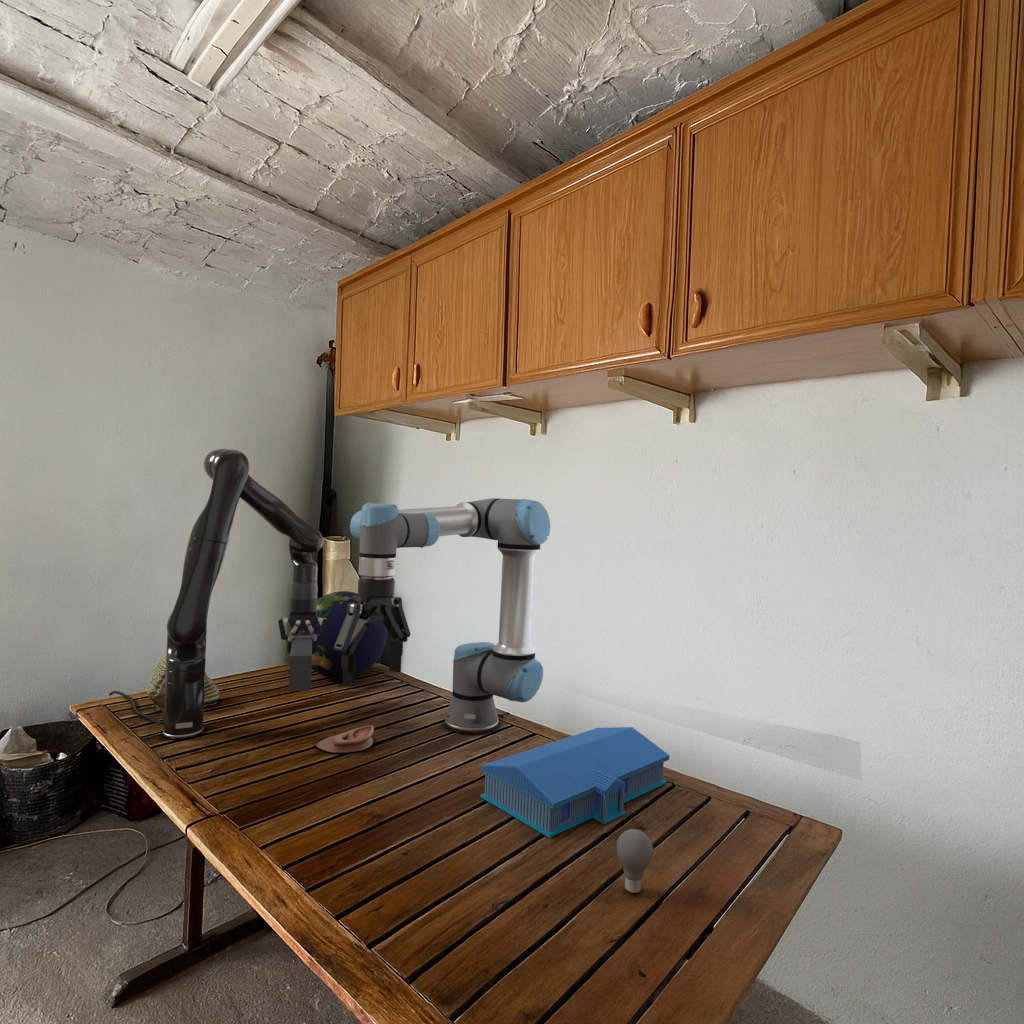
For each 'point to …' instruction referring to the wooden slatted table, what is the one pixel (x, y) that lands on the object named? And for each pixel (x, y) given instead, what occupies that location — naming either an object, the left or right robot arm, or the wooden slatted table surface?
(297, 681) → the bar
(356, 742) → the anatomical model
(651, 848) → the light bulb
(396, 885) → the wooden slatted table surface
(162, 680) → the fossil
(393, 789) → the wooden slatted table surface
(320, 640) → the globe
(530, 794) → the model building
